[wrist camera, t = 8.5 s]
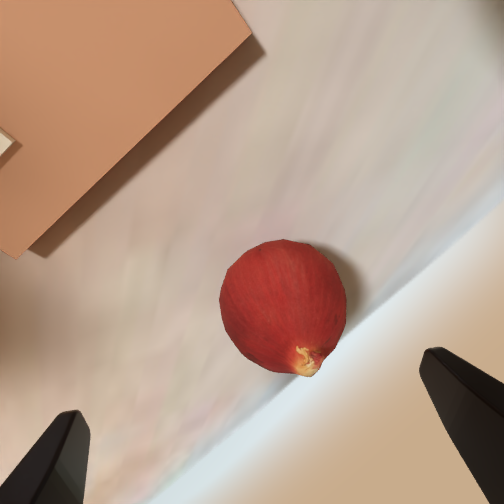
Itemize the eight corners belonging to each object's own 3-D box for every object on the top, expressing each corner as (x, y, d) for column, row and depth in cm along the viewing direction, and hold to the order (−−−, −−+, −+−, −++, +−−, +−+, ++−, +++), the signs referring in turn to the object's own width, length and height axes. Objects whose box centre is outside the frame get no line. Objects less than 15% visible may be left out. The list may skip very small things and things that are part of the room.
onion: (314, 293, 21) (376, 409, 14) (221, 309, 20) (239, 439, 13) (316, 206, 18) (396, 302, 11) (207, 222, 17) (221, 334, 10)
